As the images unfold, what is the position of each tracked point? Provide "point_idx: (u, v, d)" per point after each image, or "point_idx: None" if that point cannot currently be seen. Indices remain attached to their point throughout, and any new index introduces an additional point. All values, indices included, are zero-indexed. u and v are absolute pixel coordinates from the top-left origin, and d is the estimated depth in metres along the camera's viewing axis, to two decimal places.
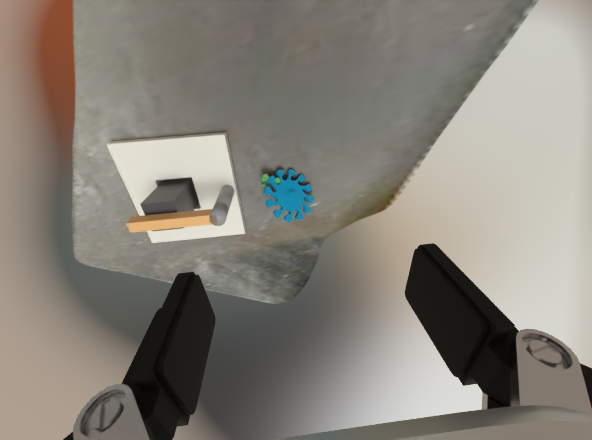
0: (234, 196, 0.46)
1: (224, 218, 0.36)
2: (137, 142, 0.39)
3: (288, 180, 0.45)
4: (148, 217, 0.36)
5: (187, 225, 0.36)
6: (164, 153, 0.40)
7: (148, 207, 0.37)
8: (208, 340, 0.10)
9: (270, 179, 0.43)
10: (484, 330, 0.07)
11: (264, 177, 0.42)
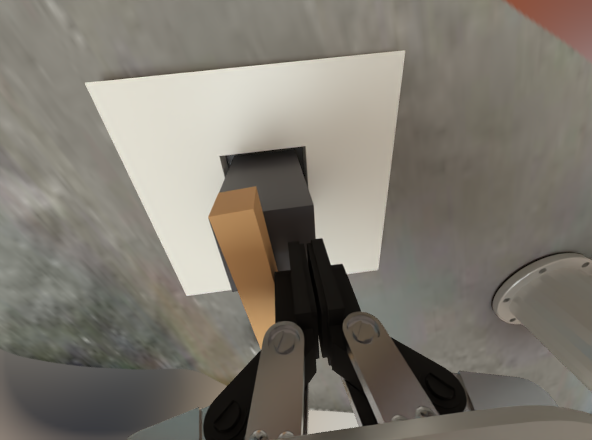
0: None
1: None
2: (393, 130, 0.18)
3: None
4: (269, 248, 0.11)
5: None
6: (363, 178, 0.20)
7: (301, 224, 0.12)
8: None
9: None
10: (324, 313, 0.08)
11: None
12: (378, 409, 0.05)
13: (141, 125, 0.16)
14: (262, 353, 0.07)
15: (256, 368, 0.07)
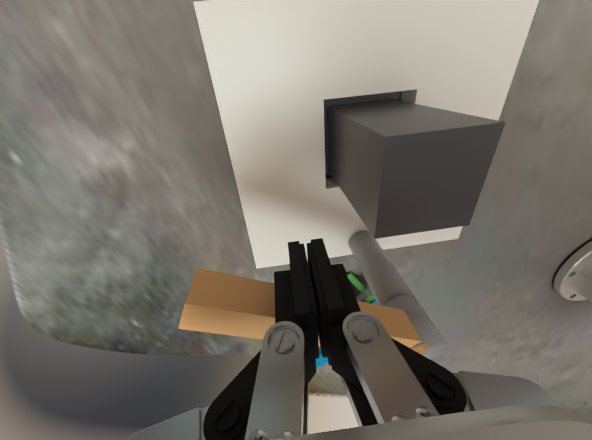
0: (346, 250, 0.23)
1: (439, 353, 0.14)
2: (513, 71, 0.16)
3: None
4: (253, 292, 0.11)
5: None
6: None
7: (481, 148, 0.10)
8: None
9: None
10: (324, 313, 0.08)
11: None
12: (378, 409, 0.05)
13: (246, 59, 0.14)
14: (262, 353, 0.07)
15: (256, 368, 0.07)
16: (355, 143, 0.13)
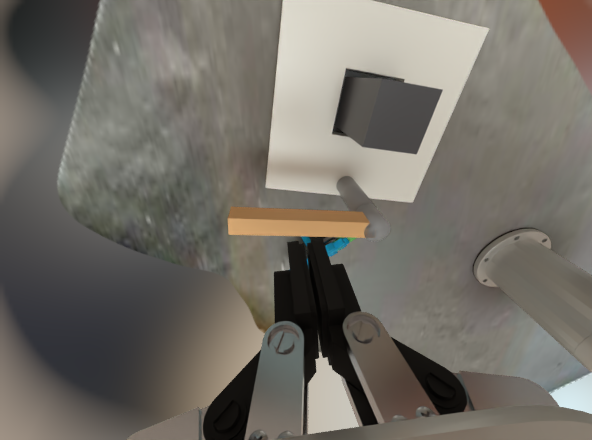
0: (333, 190, 0.31)
1: (388, 230, 0.22)
2: (463, 85, 0.26)
3: (331, 254, 0.36)
4: (261, 212, 0.21)
5: (326, 234, 0.21)
6: (431, 118, 0.27)
7: (429, 102, 0.19)
8: None
9: (347, 243, 0.33)
10: (324, 313, 0.08)
11: (353, 239, 0.33)
12: (378, 409, 0.05)
13: (305, 25, 0.22)
14: (262, 353, 0.07)
15: (256, 368, 0.07)
16: (362, 92, 0.21)
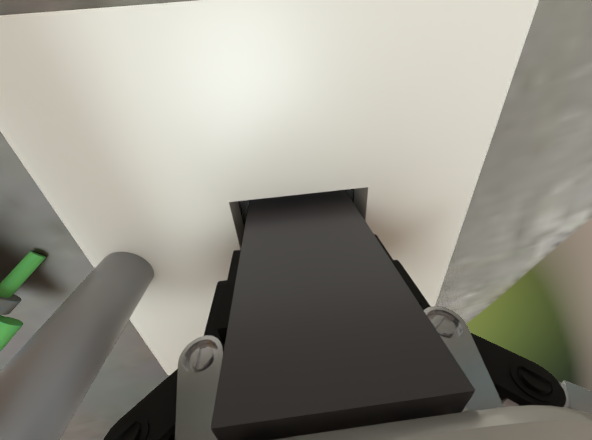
0: (95, 251, 0.11)
1: None
2: None
3: None
4: None
5: None
6: None
7: None
8: None
9: None
10: None
11: None
12: None
13: (448, 65, 0.09)
14: (179, 378, 0.06)
15: (176, 397, 0.06)
16: (360, 271, 0.07)
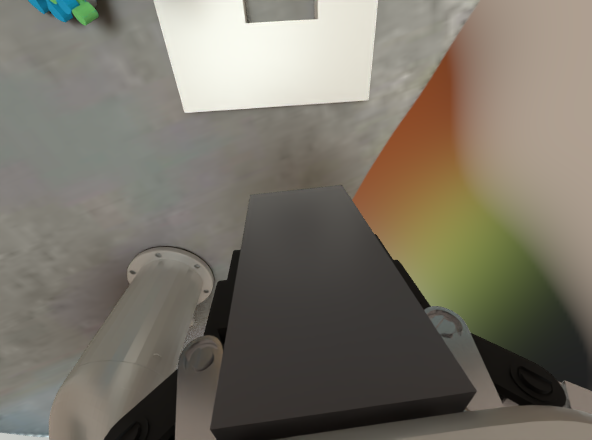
0: None
1: None
2: (322, 101, 0.25)
3: None
4: None
5: None
6: (285, 80, 0.24)
7: None
8: None
9: (66, 5, 0.18)
10: None
11: (81, 16, 0.19)
12: None
13: None
14: (179, 378, 0.06)
15: (176, 397, 0.06)
16: (360, 271, 0.07)
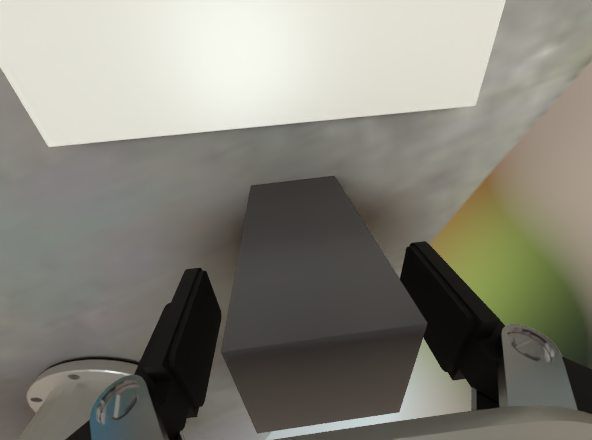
0: None
1: None
2: (371, 112, 0.11)
3: None
4: None
5: None
6: (287, 63, 0.10)
7: (372, 407, 0.08)
8: (215, 335, 0.10)
9: None
10: (471, 325, 0.07)
11: None
12: (508, 404, 0.05)
13: None
14: (94, 436, 0.05)
15: None
16: (345, 244, 0.09)
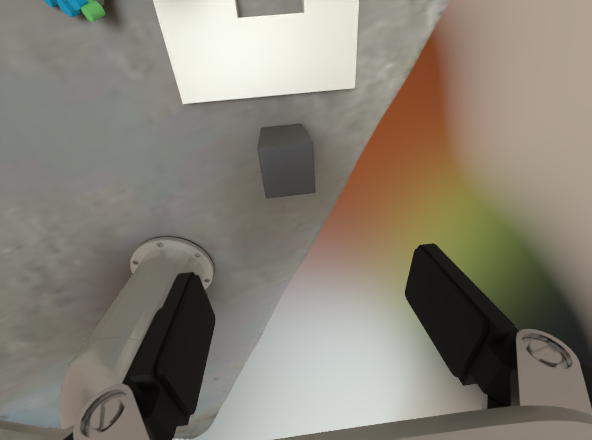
0: None
1: None
2: (311, 90, 0.27)
3: None
4: None
5: None
6: (276, 71, 0.25)
7: (305, 187, 0.24)
8: (208, 340, 0.10)
9: (75, 3, 0.20)
10: (484, 330, 0.07)
11: (89, 14, 0.20)
12: None
13: None
14: None
15: None
16: (297, 135, 0.24)
